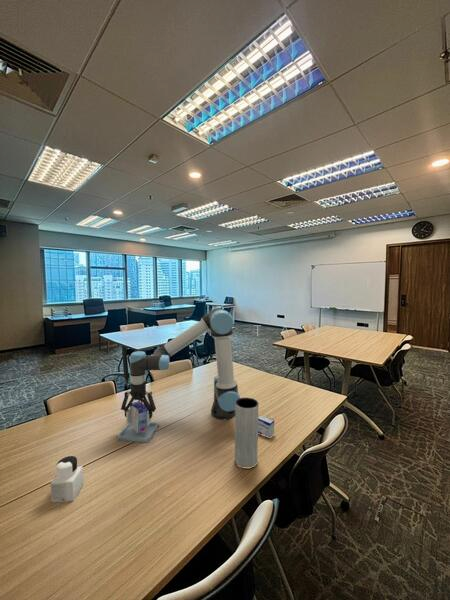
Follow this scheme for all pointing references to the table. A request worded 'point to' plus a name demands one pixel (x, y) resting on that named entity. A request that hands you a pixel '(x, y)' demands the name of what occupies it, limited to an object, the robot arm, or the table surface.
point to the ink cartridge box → (138, 416)
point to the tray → (132, 435)
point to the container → (66, 480)
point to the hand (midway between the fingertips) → (138, 423)
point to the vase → (246, 432)
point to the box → (265, 426)
